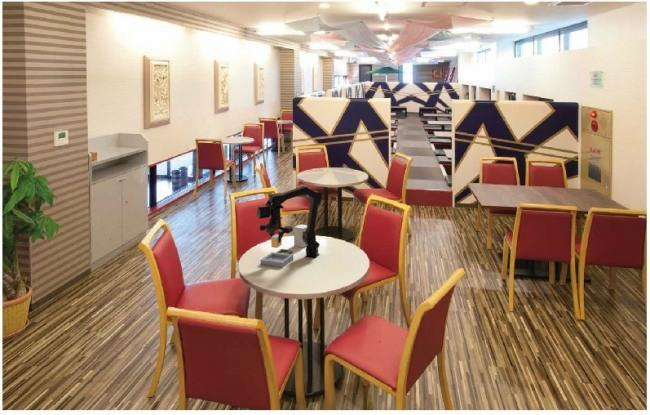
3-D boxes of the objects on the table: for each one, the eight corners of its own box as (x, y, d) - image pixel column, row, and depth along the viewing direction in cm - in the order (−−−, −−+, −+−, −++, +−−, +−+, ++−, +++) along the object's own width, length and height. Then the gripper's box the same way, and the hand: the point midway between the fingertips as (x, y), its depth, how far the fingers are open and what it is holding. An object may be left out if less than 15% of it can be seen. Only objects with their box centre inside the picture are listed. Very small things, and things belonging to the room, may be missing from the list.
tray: (293, 259, 304) (293, 254, 304) (282, 267, 292) (282, 262, 291) (272, 256, 309) (271, 252, 309) (260, 264, 297) (260, 259, 296)
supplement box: (302, 247, 325) (302, 228, 322) (293, 245, 329) (293, 226, 326) (310, 244, 331) (309, 225, 327) (301, 242, 335) (300, 223, 332)
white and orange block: (281, 244, 300) (281, 234, 299) (276, 247, 295) (276, 237, 293) (276, 244, 302) (275, 234, 300) (271, 247, 296) (271, 237, 295)
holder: (292, 252, 317) (292, 250, 317) (285, 257, 308) (285, 255, 308) (281, 250, 320) (281, 248, 320) (273, 255, 311) (273, 253, 311)
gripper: (254, 218, 290) (255, 245, 294) (284, 221, 283) (284, 248, 287) (263, 213, 300) (264, 239, 304) (292, 216, 293) (293, 242, 297)
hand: (276, 242), depth 298 cm, fingers closed on white and orange block, 3 cm apart
